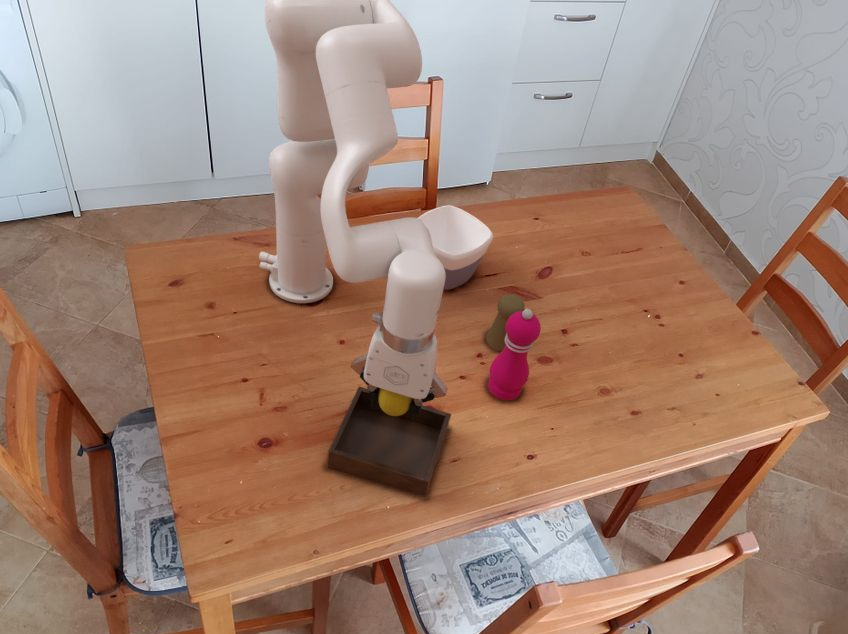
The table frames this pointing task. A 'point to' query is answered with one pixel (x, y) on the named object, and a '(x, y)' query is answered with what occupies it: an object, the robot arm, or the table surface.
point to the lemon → (393, 402)
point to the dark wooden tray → (389, 444)
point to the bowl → (457, 242)
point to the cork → (503, 320)
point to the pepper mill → (514, 356)
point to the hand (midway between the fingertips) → (394, 407)
